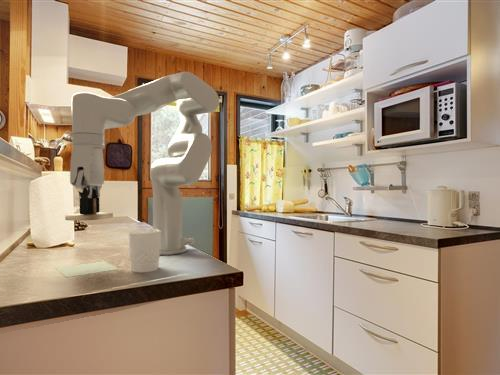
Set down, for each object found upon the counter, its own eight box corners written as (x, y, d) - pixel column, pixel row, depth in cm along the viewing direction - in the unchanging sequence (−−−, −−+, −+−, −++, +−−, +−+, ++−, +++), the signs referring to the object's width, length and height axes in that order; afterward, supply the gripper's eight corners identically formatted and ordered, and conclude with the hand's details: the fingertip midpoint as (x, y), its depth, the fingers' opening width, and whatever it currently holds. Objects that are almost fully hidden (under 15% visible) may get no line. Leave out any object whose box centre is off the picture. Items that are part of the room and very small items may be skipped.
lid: (105, 215, 89) (104, 197, 89) (119, 217, 81) (118, 198, 81) (60, 218, 82) (60, 199, 81) (71, 221, 73) (71, 200, 73)
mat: (104, 262, 89) (104, 261, 89) (119, 270, 80) (119, 268, 80) (55, 269, 81) (55, 267, 81) (65, 279, 72) (65, 277, 72)
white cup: (143, 276, 75) (143, 234, 75) (121, 271, 79) (121, 232, 79) (167, 269, 82) (167, 230, 82) (145, 265, 86) (146, 228, 86)
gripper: (87, 146, 89) (88, 211, 89) (56, 137, 73) (58, 216, 73) (114, 146, 89) (115, 210, 90) (90, 137, 73) (91, 216, 73)
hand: (89, 212), depth 81 cm, fingers closed on lid, 3 cm apart
